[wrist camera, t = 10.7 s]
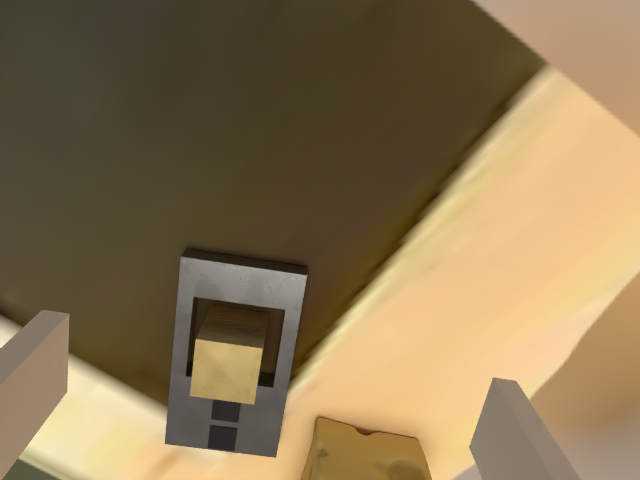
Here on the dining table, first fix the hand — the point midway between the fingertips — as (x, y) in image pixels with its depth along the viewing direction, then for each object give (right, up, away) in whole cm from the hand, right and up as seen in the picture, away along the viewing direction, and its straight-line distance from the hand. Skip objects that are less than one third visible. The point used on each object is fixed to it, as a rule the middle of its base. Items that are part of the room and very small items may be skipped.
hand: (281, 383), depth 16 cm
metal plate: (-6, -5, +29) cm, 30 cm away
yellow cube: (-6, -4, +28) cm, 29 cm away
